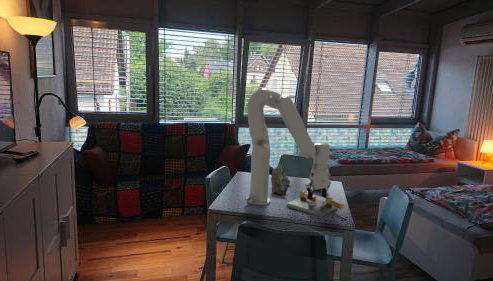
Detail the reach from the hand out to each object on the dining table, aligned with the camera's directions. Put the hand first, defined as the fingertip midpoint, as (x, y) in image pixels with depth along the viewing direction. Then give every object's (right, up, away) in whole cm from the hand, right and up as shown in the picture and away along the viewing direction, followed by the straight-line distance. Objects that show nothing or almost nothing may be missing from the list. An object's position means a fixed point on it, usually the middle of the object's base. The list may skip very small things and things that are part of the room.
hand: (316, 198), depth 176 cm
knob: (+7, -3, -8) cm, 11 cm away
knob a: (-5, -1, +2) cm, 5 cm away
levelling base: (-3, -4, -3) cm, 6 cm away
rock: (-16, 0, +28) cm, 32 cm away
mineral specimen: (+7, 0, +29) cm, 30 cm away
